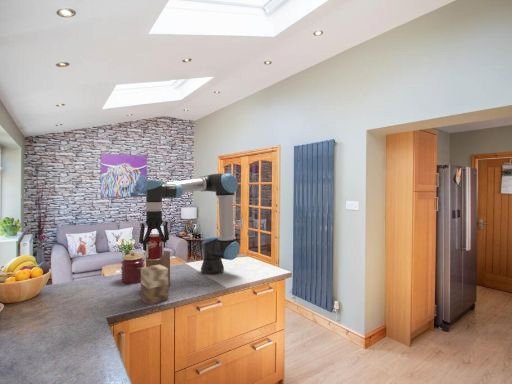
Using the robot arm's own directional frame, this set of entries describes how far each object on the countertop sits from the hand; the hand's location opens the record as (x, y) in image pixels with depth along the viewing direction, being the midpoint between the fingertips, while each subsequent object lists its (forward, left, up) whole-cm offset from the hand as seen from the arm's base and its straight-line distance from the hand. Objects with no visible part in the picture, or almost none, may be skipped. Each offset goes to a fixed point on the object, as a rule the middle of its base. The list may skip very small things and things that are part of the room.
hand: (154, 255), depth 152 cm
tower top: (0, 0, -14) cm, 14 cm away
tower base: (0, 0, -22) cm, 22 cm away
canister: (-1, -36, -22) cm, 42 cm away
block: (-8, -15, -22) cm, 28 cm away
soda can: (0, 0, -2) cm, 2 cm away
